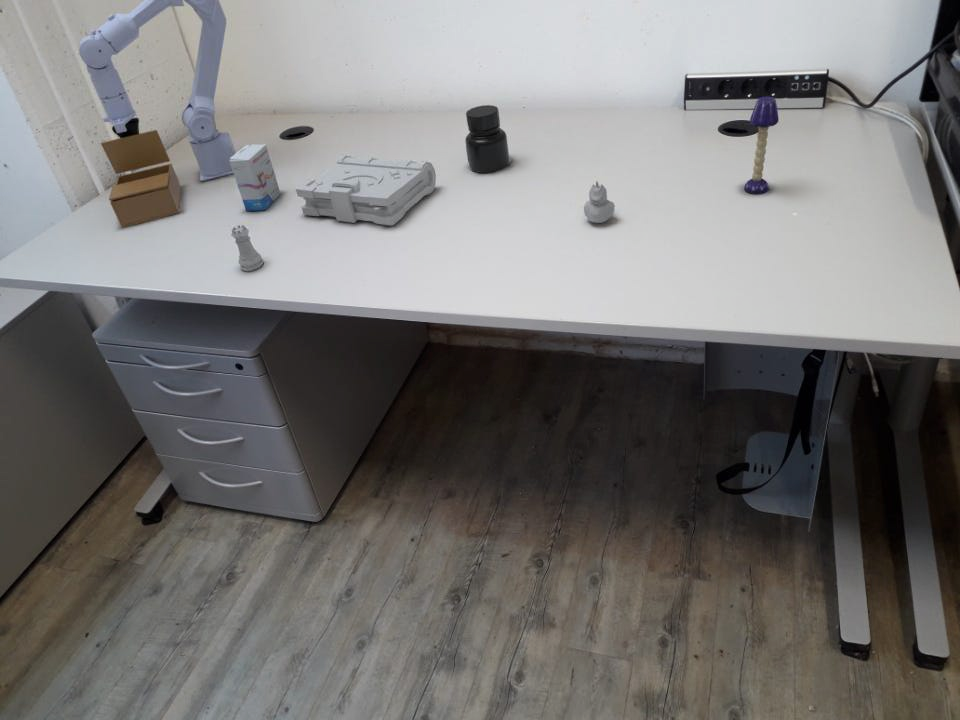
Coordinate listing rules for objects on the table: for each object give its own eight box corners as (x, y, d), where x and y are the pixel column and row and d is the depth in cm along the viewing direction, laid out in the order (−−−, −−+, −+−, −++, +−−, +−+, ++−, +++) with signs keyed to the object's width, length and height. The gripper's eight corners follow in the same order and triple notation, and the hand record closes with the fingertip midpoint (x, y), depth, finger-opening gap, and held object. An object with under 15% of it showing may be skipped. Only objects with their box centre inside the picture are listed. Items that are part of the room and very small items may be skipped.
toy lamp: (773, 184, 138) (782, 94, 128) (769, 196, 135) (778, 104, 125) (746, 183, 140) (752, 94, 130) (741, 194, 137) (748, 103, 127)
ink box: (266, 211, 162) (248, 158, 155) (245, 211, 163) (226, 160, 156) (282, 193, 168) (265, 142, 161) (262, 194, 170) (244, 143, 162)
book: (336, 177, 171) (328, 145, 167) (441, 187, 159) (435, 152, 154) (282, 216, 158) (271, 182, 154) (392, 230, 146) (383, 194, 141)
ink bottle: (500, 153, 169) (493, 99, 162) (518, 164, 162) (512, 109, 155) (461, 165, 166) (452, 112, 159) (478, 178, 160) (469, 122, 152)
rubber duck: (581, 227, 136) (578, 186, 131) (589, 210, 141) (587, 170, 136) (610, 228, 134) (609, 186, 129) (618, 211, 139) (617, 170, 134)
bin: (127, 200, 178) (115, 173, 174) (181, 187, 180) (170, 160, 176) (121, 227, 166) (108, 199, 162) (179, 213, 168) (167, 184, 164)
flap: (116, 174, 174) (116, 173, 174) (170, 161, 176) (170, 160, 176) (100, 143, 169) (100, 142, 169) (156, 130, 171) (156, 129, 171)
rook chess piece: (242, 262, 144) (228, 224, 139) (265, 258, 144) (252, 220, 139) (238, 273, 140) (224, 235, 136) (262, 269, 140) (248, 231, 136)
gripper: (98, 90, 171) (123, 147, 180) (90, 107, 160) (117, 168, 168) (129, 83, 172) (153, 140, 181) (123, 100, 161) (149, 160, 169)
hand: (138, 153), depth 174 cm, fingers closed
